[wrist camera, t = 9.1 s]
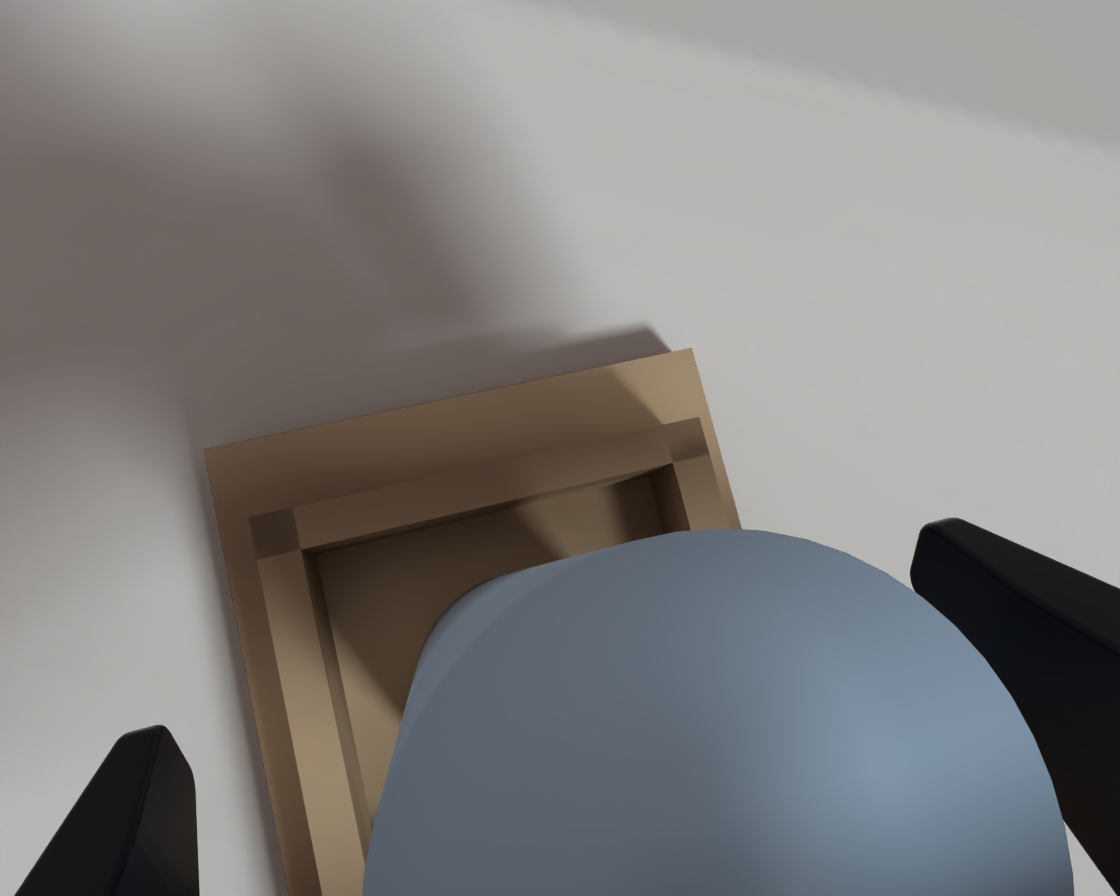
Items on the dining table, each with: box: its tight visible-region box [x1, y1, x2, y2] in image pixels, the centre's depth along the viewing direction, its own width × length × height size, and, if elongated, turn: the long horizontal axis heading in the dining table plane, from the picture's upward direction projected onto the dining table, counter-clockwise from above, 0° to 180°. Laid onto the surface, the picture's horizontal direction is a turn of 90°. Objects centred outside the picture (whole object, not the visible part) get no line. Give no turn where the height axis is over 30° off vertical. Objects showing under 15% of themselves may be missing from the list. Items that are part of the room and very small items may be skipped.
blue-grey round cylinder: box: [362, 528, 1074, 896], centre depth 11 cm, size 5×5×12 cm
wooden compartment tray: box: [204, 348, 742, 896], centre depth 17 cm, size 21×11×3 cm, turn 14°
